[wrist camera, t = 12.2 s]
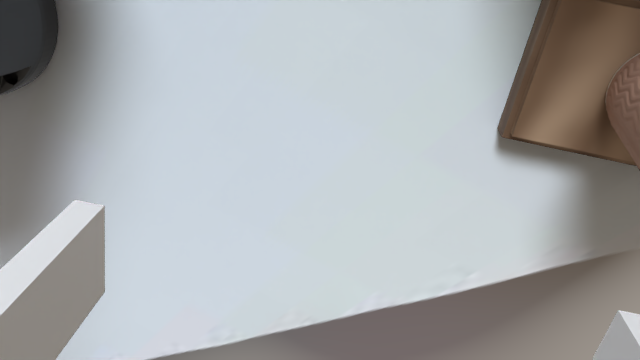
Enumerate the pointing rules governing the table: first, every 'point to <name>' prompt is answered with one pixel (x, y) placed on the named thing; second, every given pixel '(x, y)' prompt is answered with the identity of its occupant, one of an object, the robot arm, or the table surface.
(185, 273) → the table surface
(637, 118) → the coffee cup
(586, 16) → the stand
